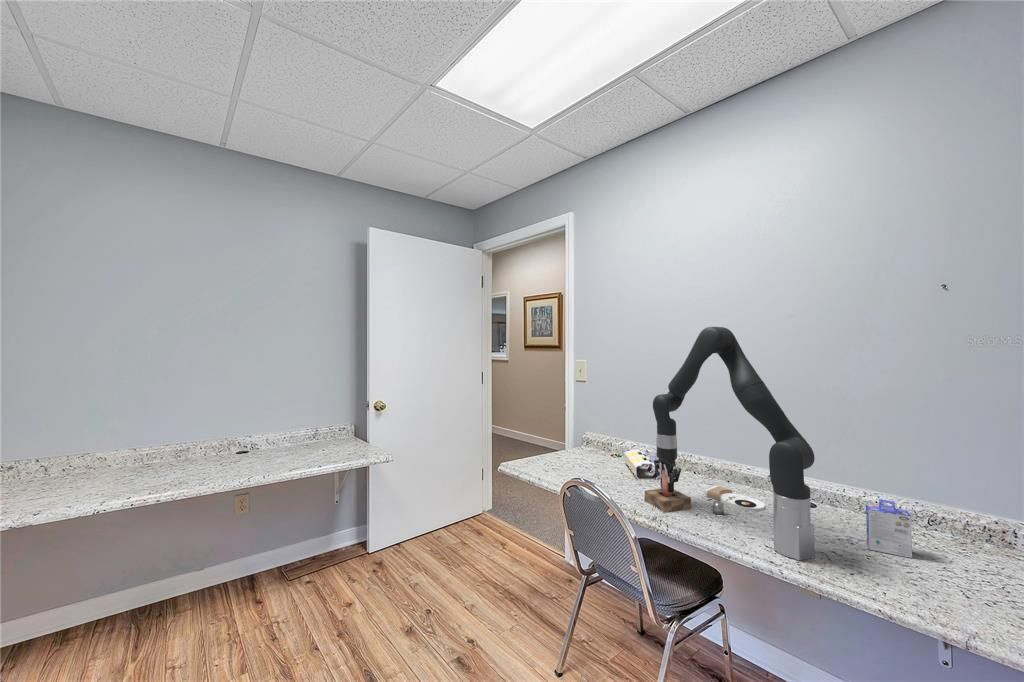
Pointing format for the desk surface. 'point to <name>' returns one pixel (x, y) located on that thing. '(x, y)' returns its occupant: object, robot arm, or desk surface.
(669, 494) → the long pin
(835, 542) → the desk surface
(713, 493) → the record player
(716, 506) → the short pin
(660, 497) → the hole block
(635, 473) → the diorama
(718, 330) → the robot arm
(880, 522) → the ink cartridge box
